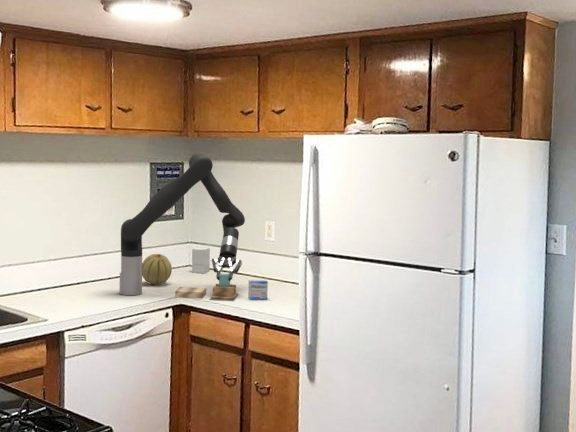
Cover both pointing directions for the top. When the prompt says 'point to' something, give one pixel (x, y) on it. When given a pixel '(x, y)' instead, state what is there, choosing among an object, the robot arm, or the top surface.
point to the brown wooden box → (224, 292)
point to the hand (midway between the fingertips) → (224, 279)
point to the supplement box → (200, 260)
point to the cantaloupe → (156, 269)
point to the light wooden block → (190, 292)
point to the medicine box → (258, 289)
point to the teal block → (224, 280)
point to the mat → (224, 300)
